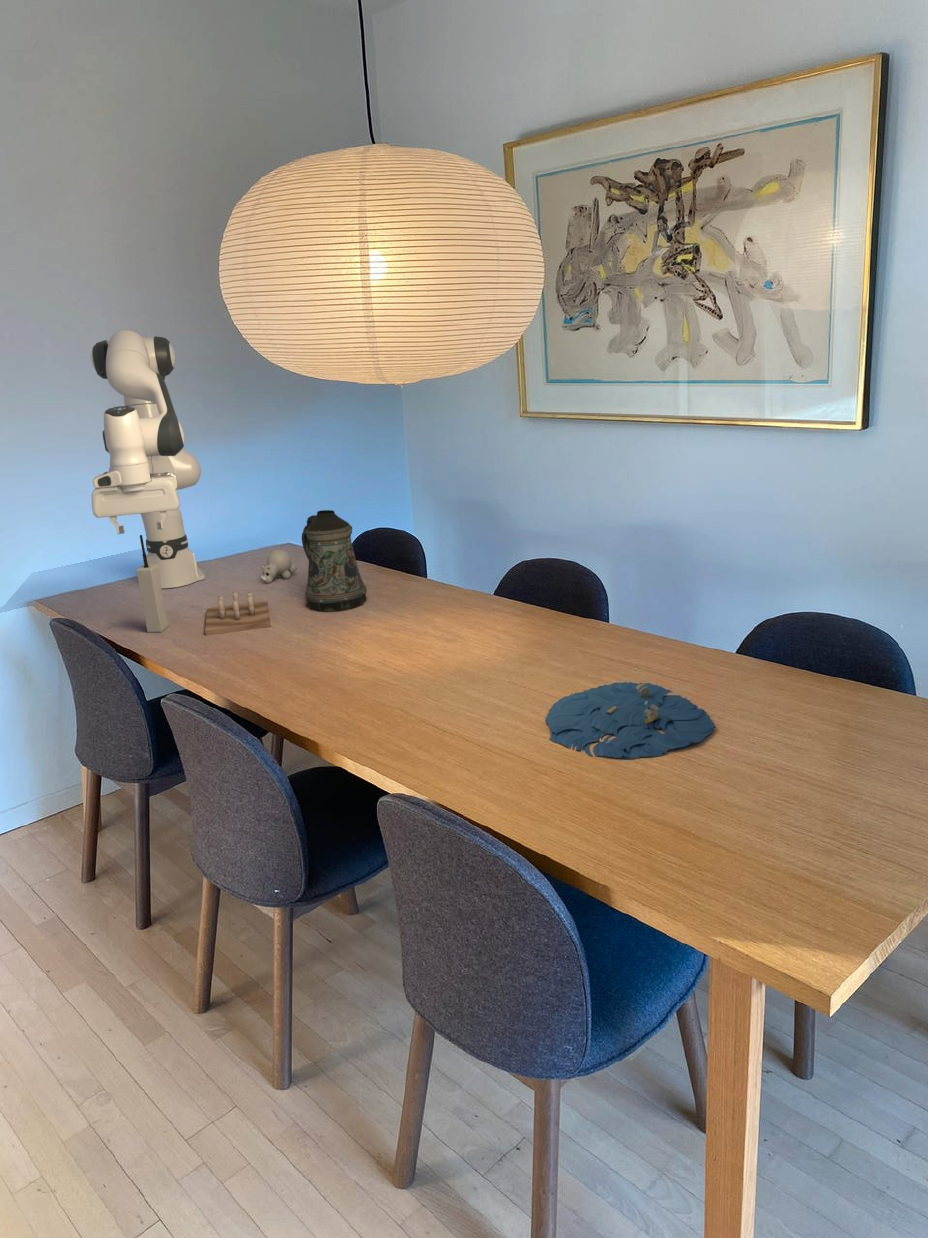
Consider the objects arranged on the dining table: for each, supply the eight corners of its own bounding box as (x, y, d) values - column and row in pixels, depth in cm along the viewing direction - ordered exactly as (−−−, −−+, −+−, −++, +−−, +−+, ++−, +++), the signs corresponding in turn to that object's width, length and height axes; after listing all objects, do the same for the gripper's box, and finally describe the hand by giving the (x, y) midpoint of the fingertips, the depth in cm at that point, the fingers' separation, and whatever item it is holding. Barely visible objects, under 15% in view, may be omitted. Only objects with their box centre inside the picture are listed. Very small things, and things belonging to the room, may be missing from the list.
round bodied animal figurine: (260, 590, 268) (248, 567, 263) (284, 566, 275) (273, 544, 270) (276, 592, 264) (265, 569, 259) (301, 568, 271) (290, 545, 266)
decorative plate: (697, 781, 142) (698, 752, 140) (521, 752, 154) (520, 725, 152) (728, 702, 167) (729, 676, 165) (574, 682, 179) (573, 659, 177)
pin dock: (207, 612, 240) (204, 590, 238) (267, 604, 244) (265, 582, 242) (205, 635, 222) (202, 611, 220) (270, 626, 225) (267, 603, 223)
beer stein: (350, 614, 231) (340, 519, 223) (285, 610, 238) (273, 518, 230) (377, 595, 246) (369, 506, 238) (315, 592, 252) (305, 505, 245)
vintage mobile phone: (169, 626, 231) (153, 531, 223) (161, 632, 226) (144, 536, 218) (155, 626, 231) (139, 532, 223) (147, 633, 226) (130, 536, 219)
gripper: (176, 469, 221) (185, 524, 226) (89, 477, 217) (100, 533, 221) (175, 473, 215) (184, 529, 220) (85, 481, 211) (96, 538, 215)
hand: (141, 531), depth 220 cm, fingers open, 8 cm apart
